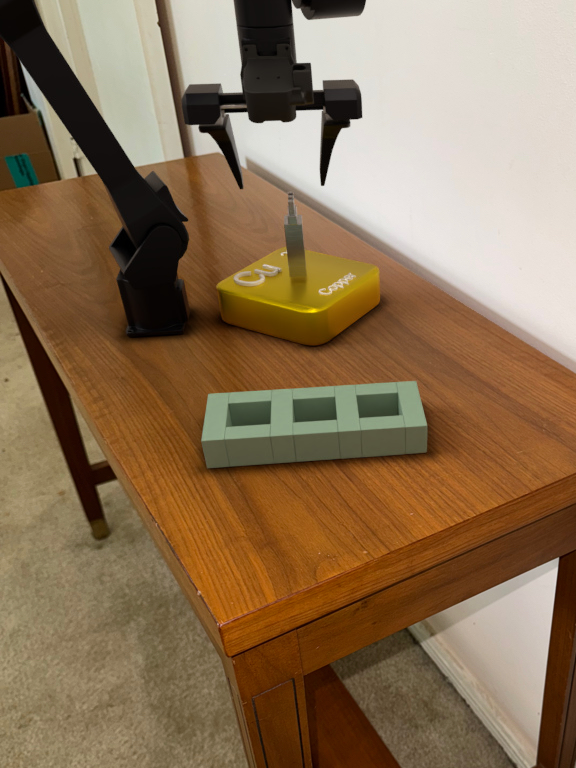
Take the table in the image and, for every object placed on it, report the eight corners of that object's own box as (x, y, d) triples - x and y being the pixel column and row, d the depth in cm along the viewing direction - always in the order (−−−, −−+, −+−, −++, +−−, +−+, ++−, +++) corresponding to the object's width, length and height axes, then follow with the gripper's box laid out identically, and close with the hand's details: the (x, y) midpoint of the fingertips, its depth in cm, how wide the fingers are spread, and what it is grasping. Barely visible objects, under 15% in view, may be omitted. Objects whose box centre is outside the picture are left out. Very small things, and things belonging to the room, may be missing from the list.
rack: (207, 468, 68) (201, 440, 67) (213, 420, 74) (208, 393, 72) (426, 453, 70) (427, 425, 68) (416, 406, 76) (416, 380, 74)
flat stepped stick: (289, 278, 88) (281, 201, 82) (289, 266, 91) (281, 191, 85) (306, 277, 88) (299, 201, 82) (306, 265, 91) (299, 190, 85)
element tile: (318, 350, 85) (315, 309, 82) (214, 321, 90) (207, 282, 87) (386, 300, 95) (385, 261, 92) (288, 276, 100) (284, 239, 97)
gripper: (161, 39, 70) (193, 214, 80) (363, 34, 72) (369, 206, 82) (174, 21, 78) (202, 181, 89) (355, 17, 80) (361, 175, 90)
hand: (282, 186), depth 87 cm, fingers open, 9 cm apart
